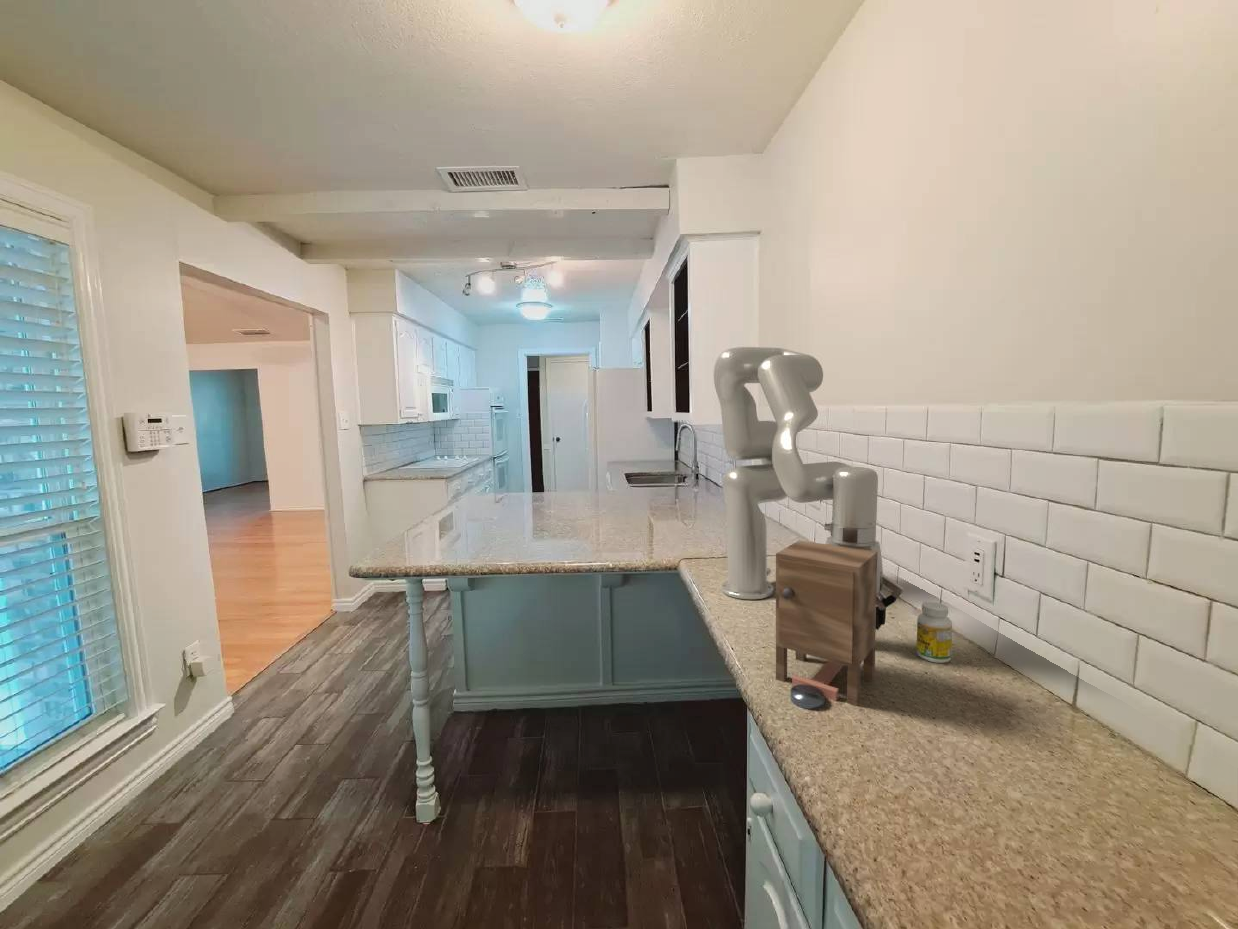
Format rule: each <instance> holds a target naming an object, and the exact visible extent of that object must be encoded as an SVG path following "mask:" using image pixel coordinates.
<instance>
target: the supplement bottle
mask: <svg viewBox="0 0 1238 929" xmlns="http://www.w3.org/2000/svg"><path fill="white" fill-rule="evenodd" d="M921 611H922V613H920V614H919V615H918V616H917V618H916V620H917V622H916V625H917V626H916V627H917V628H916V654H917V655H918V656H919V657H920V658H921V659H923V660H926V661H929V662H931V663H936V664H937V663H938V664H945V663H948V662H950V660H951V659H952V643H953V642H952V637H953V622H952V620H951V619H950V617H949V616H948V615H949V608H948V606H947V605H945V604H943V603H941V602H935V601H924V602H922V604H921Z"/></svg>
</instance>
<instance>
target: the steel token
mask: <svg viewBox="0 0 1238 929" xmlns="http://www.w3.org/2000/svg"><path fill="white" fill-rule="evenodd" d="M790 701H791V702H792V704H793V705H794V706H796V707H798V708H801V709H803V710H807V711H816V710H820V709H822V708H823V707H824V706H825V697H824V693H823V692H822V691H821V690H820V689H818V688H816V687H814V686H810V685H796V686H794V687H793V686H791V689H790Z"/></svg>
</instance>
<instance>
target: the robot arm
mask: <svg viewBox="0 0 1238 929" xmlns="http://www.w3.org/2000/svg"><path fill="white" fill-rule="evenodd" d="M823 380H824V370H823V367H822V365H821V363H820V361H819V360H818V359H816V357H814V356H812V355H811V354H807V353H802V352H799V351H794V350H789V349H786V348H782V347H781V348H780V347H760V346H759V347H755V346H739V347H733V348H728V349H726V350H723V351H722V352H721V353H720V354H719V356H718V357H717V359H716V361H715V363H714V368H713V384H714V388H715V391H716V392H715V393H716V395H717V398H718V402H719V405H720V410H721V411H720V412H721V413H720V414H721V422H722V432H723V433H722V434H723V443H724V449H725V452H726V455H727V456H728V457H729V459H731V460H733V461H752V460H753V461H755V460H761V464H750V465H739V466H736V467H733V468H731V469H729V470H728V471H726V473H725V474H724V476H723V478H722V484H721V486H722V487H721V488H722V492H723V497H724V503H725V508H726V510H725V511H726V537H727V538H726V539H727V540H726V542H727V545H726V546H727V547H726V548H727V550H726V551H727V552H726V554H727V580H726V581H724V582H722V584H721V591H722V593H724V594H725V595H727V596H729V597H730V598H731V597H732V598H734V599H735V598H736V599H741V600H763V599H766V598H768V597H770V596H772V595H773V593H774V586H773V585H772V584H771V583H769V582H768V578H767V577H768V576H770V575H771V574H772V570H771V568H770V567H768V566H767V564H768V560H767V556H768V555H767V554H768V552H767V551H768V550H767V544H768V543H767V539H768V538H767V534H768V533H767V532H768V531H767V520H766V516H765V515H764V513H763V511H762V510H761V509H760V507H759V505H760V504H764V503H772V502H773V503H774V502H779V501H783V500H785V499H786V498H789V499H790V500H792V501H793V502H796V503H801V504H802V503H803V504H804V503H812V502H821V501H831V500H832V515H831V516H832V517H831V522H830V523H825V524H824V531H828V532H829V533H830V536H828V537H826V541H825V544H828V545H834V546H841V547H848V548H855V549H862V550H869V551H876V552H877V590H876V630H877V631H878V630H879V629H881V627H882V626H884V625H885V623H886V615H887V612H886V611H887V608H889V606H891V605H892V604H894V603H895V602H897V599H899V597H900V595H901V594H902V593H903V591H904V589H905V588H904V587H903V586H902V585H900V584H899V583H897V582H896V581H894V580H893V579H892V578H890V577H888V576H887V575H885V574H884V573H883V572H884V570H883V559H882V557H883V556H882V550H881V545H880V542H879V541H878V540H876V539H877V538H876V537H877V520H878V519H877V517H878V516H877V515H878V494H879V493H878V492H879V491H878V490H879V475H878V473H877V471H875V469H872V468H868V467H862V466H861V467H860V466H852V465H849V464H847V463H844V462H840V461H825V462H811V463H804V462H803V461H802V458H801V456H800V454H799V451H798V446H797V435H798V433H800V432H802V431H803V430H805V429H806V428H808V427H810V426H811V425H812V424H813V423H814V422H815V421H816V420H817V418H818V416H819V410H818V409H817V407H816V405H815V402H814V400H813V398H812V396H811V393H813V392H815V391H816V390H818V389H820V387H821V385H822V383H823ZM745 384H759V385H760V386H761V389H762V391H763V394H764V396H765V399H766V401H767V404H768V406H769V408H770V411H771V413H772V416H773V418H774V420H759V418H758V412H757V404H756V403H757V402H756V401H755V399H754V397H753V395H752V393H751V392H750V391H749V390H748V388H747V387H746V386H745ZM883 586H885V587H886V588H888V589H889V590H891V593H890V595H887V596H885V595H884V593H883V592H882V591H883Z"/></svg>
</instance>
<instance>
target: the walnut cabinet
mask: <svg viewBox="0 0 1238 929" xmlns="http://www.w3.org/2000/svg"><path fill="white" fill-rule="evenodd" d="M876 590H877V552H876V551H869V550H862V549H855V548H848V547H841V546H834V545H828V544H826V543H819V542H813V541H805V540H798V541H795V542H794V543H792V544H790V545H789V546H787V547H784V548H782V549H781V550H780V551H778V552H776V553H775V680H778V681H781V682H785V681H786V680H787V679H788V650H789V651H790V650H791V651H795V660H798V661H799V662H804V661H805V660H807V655H808V656H811V657H815V658H819V659H822V660H825V661H832V662H835V663H838V664H842V665H844V666H846V667H847V678H846V680H847V684H846V685H847V686H846V687H847V690H846V703H847V704H851V705H852V706H857V705H858V704H859V703H860V687H861V685H860V684H861V683H860V680H861V678H860V677H861V676H860V675H861V674H860V673H861V665H862V663H863V666H862V667H863V669H862V670H863V674H862V675H863V677H862V678H863V680H865V681H868V682H871V683H873V681H874V680H875V675H876V674H875V673H876V672H875V670H876V668H875V666H876V632H877V631H876V607H877V606H876Z"/></svg>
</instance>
